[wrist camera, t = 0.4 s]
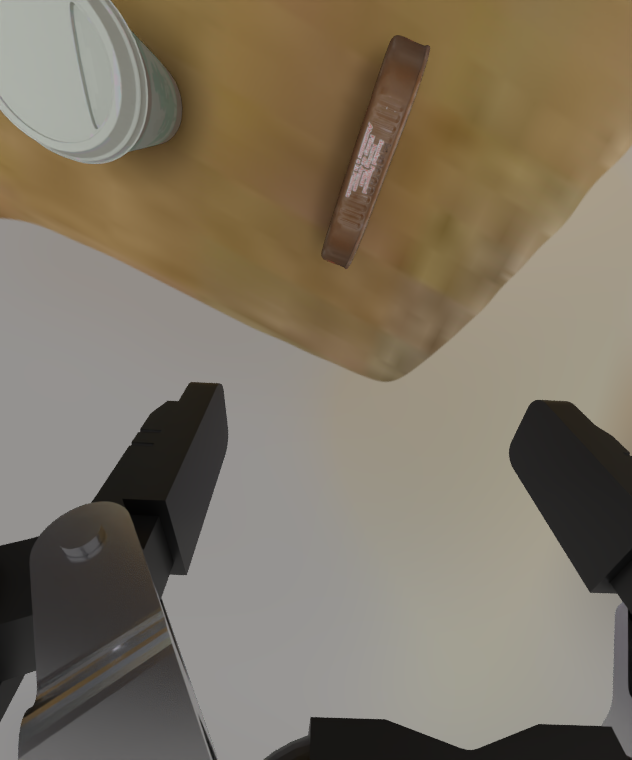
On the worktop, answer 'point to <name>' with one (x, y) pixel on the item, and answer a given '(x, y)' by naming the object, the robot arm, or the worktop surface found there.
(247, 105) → the worktop surface
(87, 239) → the worktop surface
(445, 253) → the worktop surface
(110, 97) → the coffee cup
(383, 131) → the tin
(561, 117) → the worktop surface
